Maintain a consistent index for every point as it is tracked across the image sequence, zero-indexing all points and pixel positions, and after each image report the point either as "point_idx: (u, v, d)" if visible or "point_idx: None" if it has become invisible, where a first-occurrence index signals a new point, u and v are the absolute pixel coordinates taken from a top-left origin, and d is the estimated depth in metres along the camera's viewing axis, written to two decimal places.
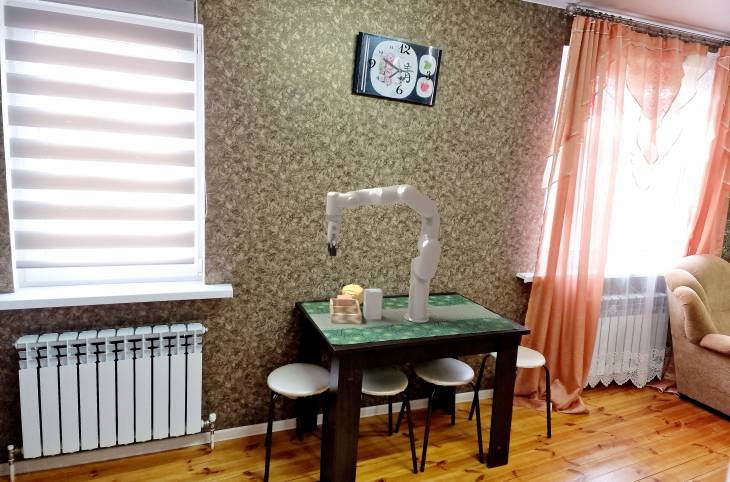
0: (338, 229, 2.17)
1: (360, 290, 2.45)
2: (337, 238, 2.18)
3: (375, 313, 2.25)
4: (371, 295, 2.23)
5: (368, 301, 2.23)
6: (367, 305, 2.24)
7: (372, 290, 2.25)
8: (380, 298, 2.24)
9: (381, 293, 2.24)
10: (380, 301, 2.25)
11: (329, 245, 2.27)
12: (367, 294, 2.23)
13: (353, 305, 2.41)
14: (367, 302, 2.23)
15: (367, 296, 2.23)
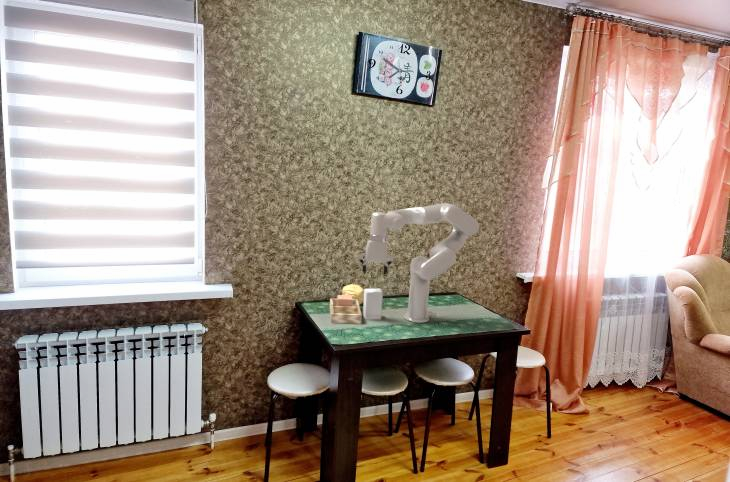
0: None
1: (360, 290, 2.45)
2: None
3: (375, 313, 2.25)
4: (371, 295, 2.23)
5: (368, 301, 2.23)
6: (367, 305, 2.24)
7: (372, 290, 2.25)
8: (380, 298, 2.24)
9: (381, 293, 2.24)
10: (380, 301, 2.25)
11: None
12: (367, 294, 2.23)
13: (353, 305, 2.41)
14: (367, 302, 2.23)
15: (367, 296, 2.23)
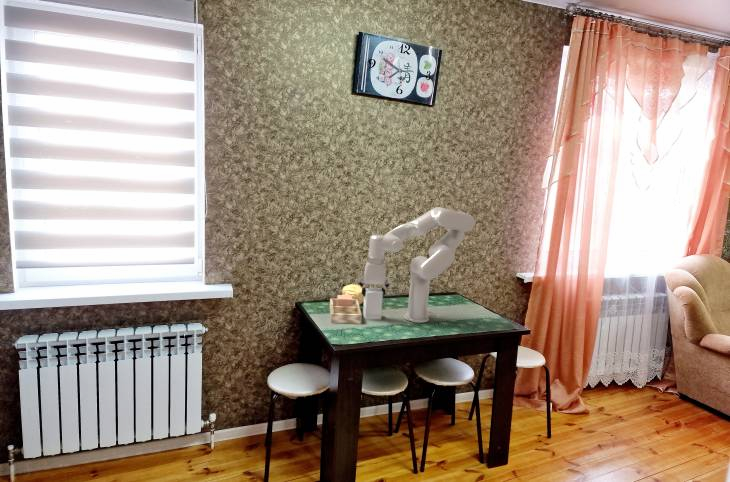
0: None
1: (360, 290, 2.45)
2: None
3: (375, 313, 2.25)
4: (371, 295, 2.23)
5: (368, 301, 2.23)
6: (367, 305, 2.24)
7: (373, 290, 2.25)
8: (380, 298, 2.24)
9: (381, 293, 2.24)
10: (380, 301, 2.25)
11: None
12: (367, 294, 2.23)
13: (353, 305, 2.41)
14: (367, 302, 2.23)
15: (367, 296, 2.23)
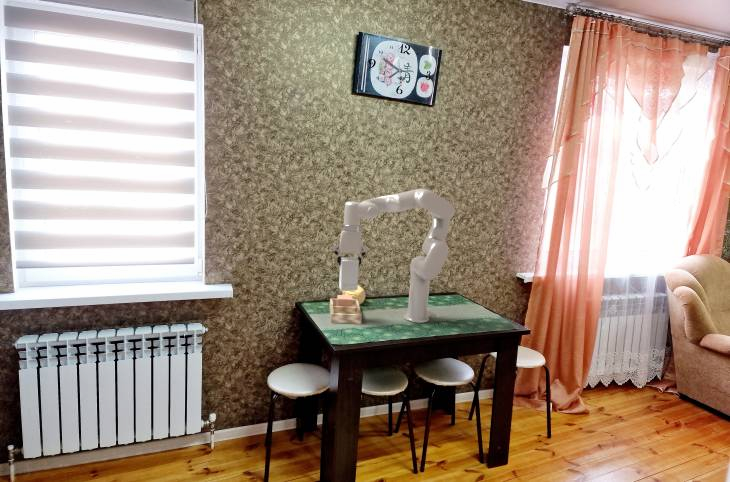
0: None
1: (360, 290, 2.45)
2: None
3: (351, 283, 2.18)
4: (347, 264, 2.16)
5: (343, 270, 2.16)
6: (343, 274, 2.17)
7: (348, 259, 2.18)
8: (356, 267, 2.17)
9: (357, 262, 2.17)
10: (356, 270, 2.18)
11: (340, 258, 2.18)
12: (342, 262, 2.16)
13: (353, 305, 2.41)
14: (343, 271, 2.16)
15: (342, 265, 2.16)
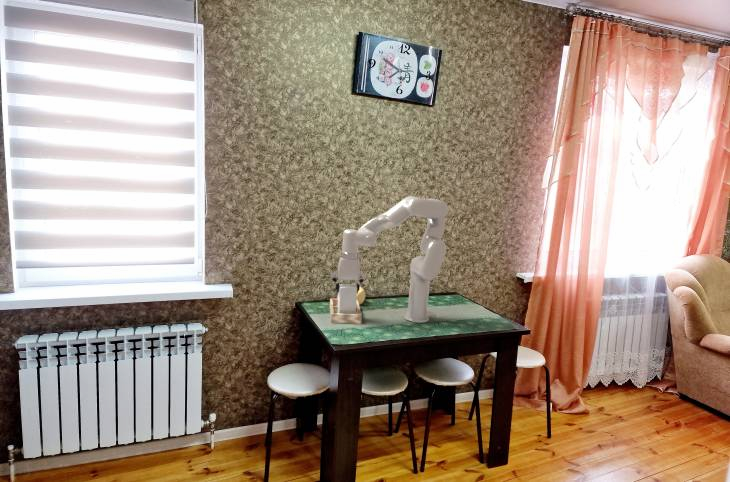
0: None
1: (360, 290, 2.45)
2: None
3: (349, 309, 2.21)
4: (345, 291, 2.18)
5: (341, 297, 2.19)
6: (341, 301, 2.19)
7: (347, 286, 2.20)
8: (354, 293, 2.20)
9: (355, 289, 2.19)
10: (354, 297, 2.20)
11: None
12: (340, 289, 2.18)
13: None
14: (341, 298, 2.19)
15: (341, 292, 2.18)
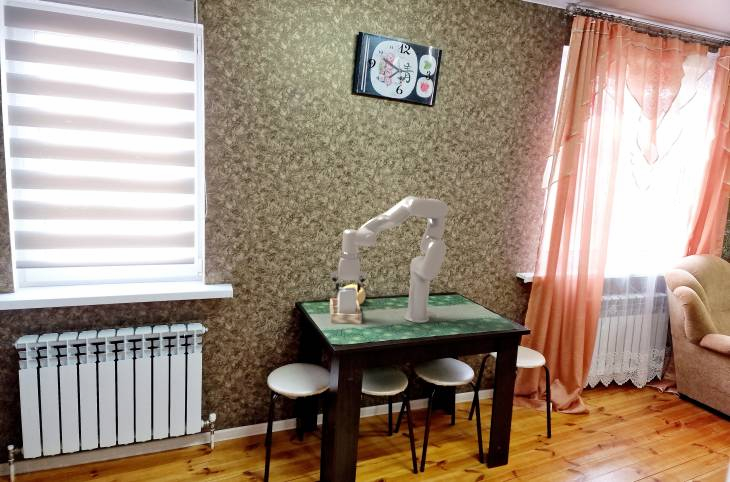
0: None
1: (360, 290, 2.45)
2: None
3: (349, 313, 2.21)
4: (344, 294, 2.19)
5: (341, 300, 2.19)
6: (340, 304, 2.19)
7: (346, 289, 2.21)
8: (354, 297, 2.20)
9: (355, 292, 2.20)
10: (354, 300, 2.20)
11: None
12: (340, 293, 2.18)
13: None
14: (340, 301, 2.19)
15: (340, 295, 2.18)
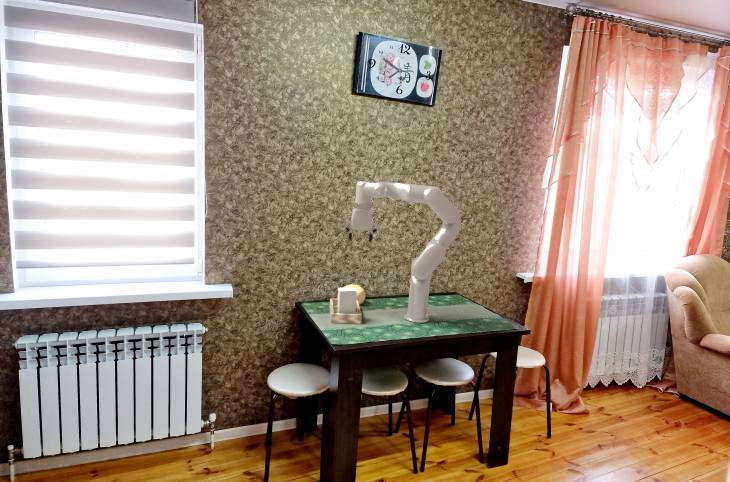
0: None
1: (360, 290, 2.45)
2: None
3: (349, 313, 2.21)
4: (344, 294, 2.19)
5: (341, 300, 2.19)
6: (340, 304, 2.19)
7: (346, 289, 2.21)
8: (354, 297, 2.20)
9: (355, 292, 2.20)
10: (354, 300, 2.20)
11: None
12: (340, 293, 2.18)
13: None
14: (340, 301, 2.19)
15: (340, 295, 2.18)
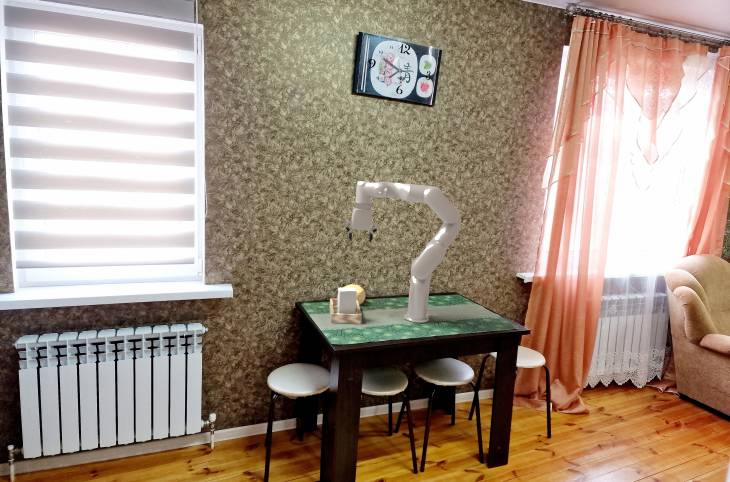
0: None
1: (360, 290, 2.45)
2: None
3: (349, 313, 2.21)
4: (344, 294, 2.19)
5: (341, 300, 2.19)
6: (340, 304, 2.19)
7: (346, 289, 2.21)
8: (354, 297, 2.20)
9: (355, 292, 2.20)
10: (354, 300, 2.20)
11: None
12: (340, 293, 2.18)
13: None
14: (340, 301, 2.19)
15: (340, 295, 2.18)
